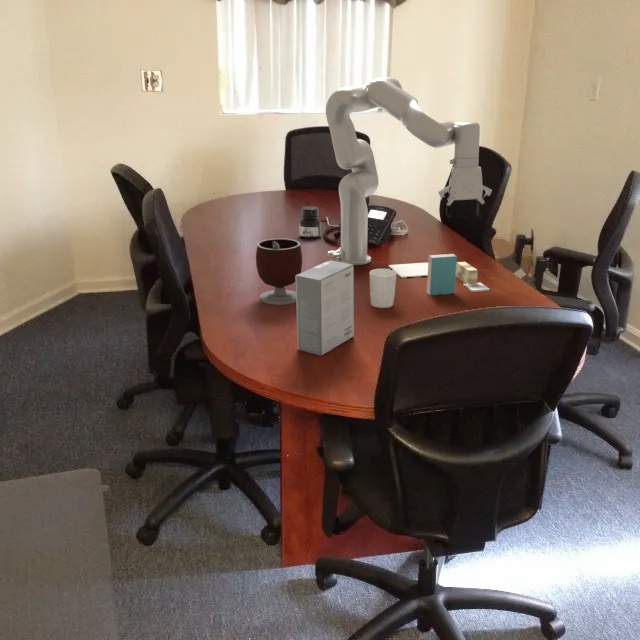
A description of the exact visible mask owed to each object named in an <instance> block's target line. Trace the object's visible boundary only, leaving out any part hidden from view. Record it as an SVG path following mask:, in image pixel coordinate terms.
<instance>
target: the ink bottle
mask: <svg viewBox="0 0 640 640" xmlns="http://www.w3.org/2000/svg"><path fill="white" fill-rule="evenodd" d="M301 217H302V218H301V219H300V220H299V225H298V228H299V229H298V232H299V233H298V234H299V237H300V236H301V237H305V238H304V239H306V238H315V239H317V238H316V237H319V238H320V237H322V221H321V220H320V219H319V207H318V206H307V205H306V206H303V207H301ZM301 237H300V238H301Z"/></svg>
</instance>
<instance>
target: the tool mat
mask: <svg viewBox="0 0 640 640" xmlns="http://www.w3.org/2000/svg"><path fill="white" fill-rule="evenodd" d="M388 269H392V270H394V271H396V273H397V274H396V276H398V277H399V276H400V277H401V279H408V278H407V277H414V278H422V277H421V276H428V262H415V263H400V264H389V265H388ZM400 277H399V278H400Z"/></svg>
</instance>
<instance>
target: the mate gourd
mask: <svg viewBox="0 0 640 640" xmlns="http://www.w3.org/2000/svg"><path fill="white" fill-rule="evenodd" d="M255 265H256V270H257V274H258V276H259V278H260V280H261V281H262V282H263V283H264V284H265V285H268V286H271V287H274V288H275V289H272V290H267V291H265V292H263V293H261V294H260V296H259V298H260V299H261V300H260V301H261V302H263V303H265V304H267V305H268V304H269V305H277V306H278V305H290V304H293V303H296V290H292V289H291V290H290V289H285V287H288V286H291V285H293V284H296V278H295V276H296V275H298V274H300V273H302V266H303V253H302V247H301V242H299V240H296V239H291V238H269V239H263V240H261V241H258V242H257V244H256V253H255Z"/></svg>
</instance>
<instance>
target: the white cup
mask: <svg viewBox="0 0 640 640" xmlns="http://www.w3.org/2000/svg"><path fill="white" fill-rule="evenodd" d="M396 283H397V273H396V271H394V270H391V269H390V268H375V269H372V270H370V271H369V291H370V292H369V295H370V305H371V306H373V307H374V308H379V309H380V308H381V309H386V308H392V307H393V306H394V304H395V303H394V301H395V295H396V293H395V292H396Z"/></svg>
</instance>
